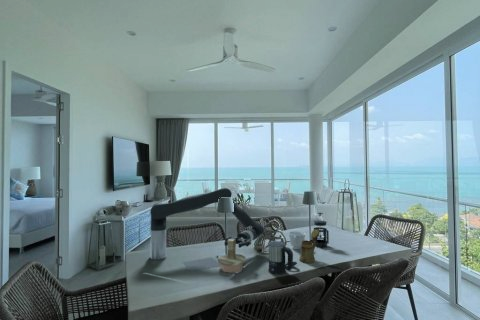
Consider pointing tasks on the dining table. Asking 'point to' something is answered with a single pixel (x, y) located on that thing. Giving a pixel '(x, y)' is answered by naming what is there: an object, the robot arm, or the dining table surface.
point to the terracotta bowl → (232, 268)
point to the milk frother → (279, 257)
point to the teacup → (296, 239)
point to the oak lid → (231, 255)
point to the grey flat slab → (201, 264)
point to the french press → (318, 240)
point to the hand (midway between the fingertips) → (232, 244)
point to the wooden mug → (309, 248)
